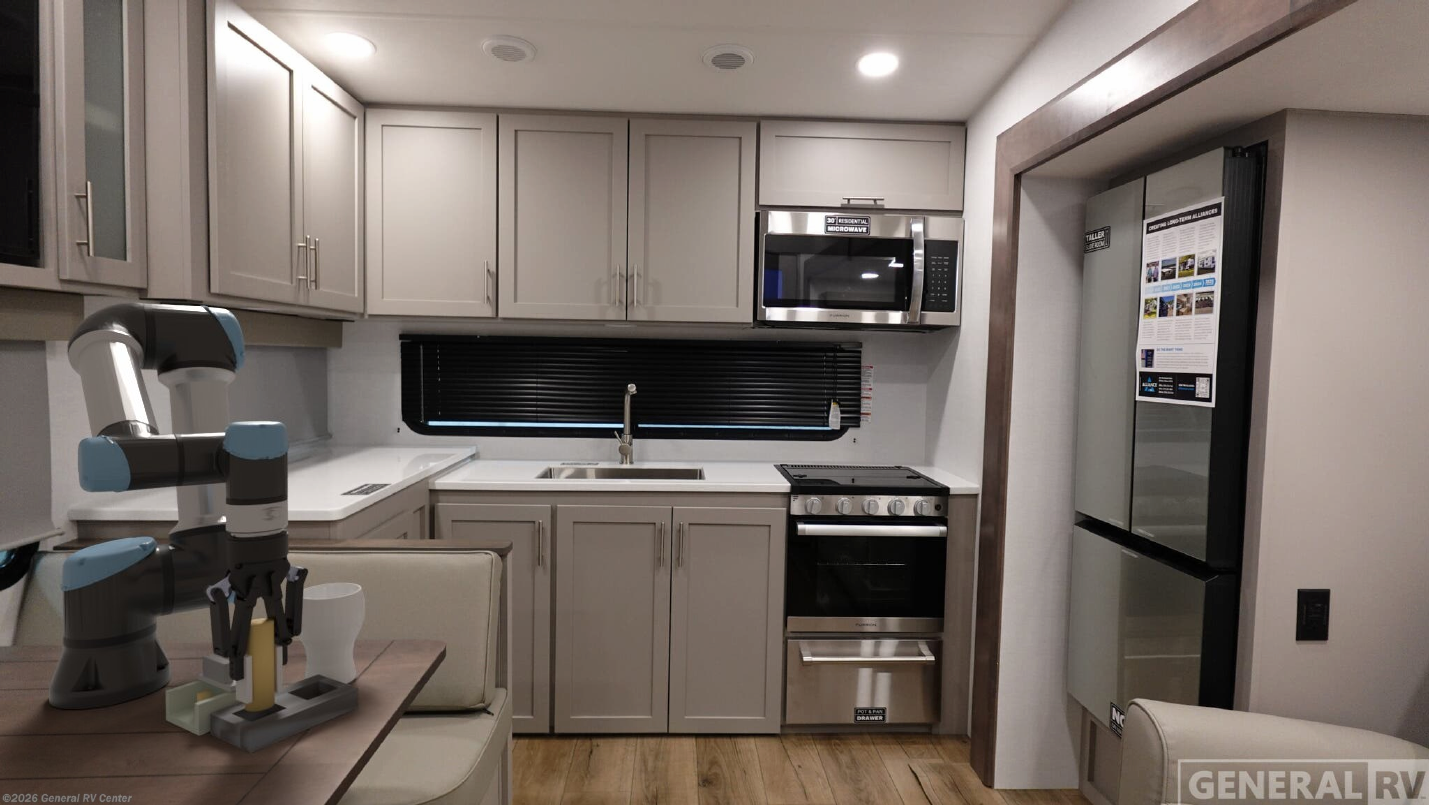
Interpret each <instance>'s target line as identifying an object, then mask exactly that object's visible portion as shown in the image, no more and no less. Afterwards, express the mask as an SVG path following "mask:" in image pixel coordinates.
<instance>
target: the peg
mask: <svg viewBox="0 0 1429 805" xmlns="http://www.w3.org/2000/svg"><path fill="white" fill-rule="evenodd" d="M246 654H248V655H251V656H252V702H250V703H248V704H246V703H245V710H246V711H251V712H254V711H261V710H265V709H268V708H270V707H272V706H273V705H274V704H275V680H274V620H273V619H271V618H267V617H264V618H262V617H261V618H255V619H252V620H251V626H250V632H249V638H248V644H247V650H246Z"/></svg>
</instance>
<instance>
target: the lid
mask: <svg viewBox="0 0 1429 805" xmlns="http://www.w3.org/2000/svg"><path fill="white" fill-rule="evenodd" d="M197 680H201V681H204V682H206V683H209V684H211V685H214V686H216V687H219V688H221V689H224V690H226V691H229V692H233V691H236V681H235V680H232V679H231V678H230V675H229V659H228V658H225V657H222V656H219V655H216V654H214V653H209V654H205V655H202V672H199V673H197Z"/></svg>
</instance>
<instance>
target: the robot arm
mask: <svg viewBox="0 0 1429 805" xmlns="http://www.w3.org/2000/svg"><path fill="white" fill-rule="evenodd" d="M245 350H246V348H245V340H244V336H243V332H242V328H241V326H240V323H239V321H238V319H237V317H236V316H235V315H234V314H233V312H231V311H230V310H227V309H225V308H219V307H208V306H206V305H200V306H194V305H175V304H164V303H162V304H161V303H142V302H131V301H130V302H122V303H121V302H120V303H116V304H113V305H112V304H111V305H108V306H106V307H103V308H101V309H98V310H96V311H95V312H93V313H91V314H90V315H88V316H87V317H85V318H84V319H83V320H81V322H79V324H77V325H76V326H75V328H74V329H73V331H72V333H71V334H70V335H69V338H68V343H67V356H68V362H69V365H70V367H71V368H72V369H73V371H75V373H77V374H78V375H79V376H80V381H81V386H82V390H83V391H82V392H83V396H84V403H85V406H86V407H85V408H86V412H87V417H88V423H89V427H90V428H89V429H90V434H91V437H86V438H83V439H81V440H80V441H79V443H78V446H77V472H78V483H79V485H80V486H79V487H80V488H81V489H82V490H83V491H84V492H87V493H106V492H107V493H108V492H109V493H110V492H114V493H123V492H130V491H140V490H141V491H142V490H143V491H144V490H151V489H152V490H153V489H163V488H172V487H176V488H175V489H176V502H177V514H178V516H177V518H178V522H177V524H176V525H175V526H174V527H173V528H172V529H171V530H170V531H169V532H168V543H163V544H158V543H157V541H156V539H155V538H154V537H151V536H137V537H126V538H121V539H120V538H119V539H114V540H110V541H106V542H105V541H104V542H102V543H99V544H98V543H97V544H94V545H90V546H88V547H85V548H83V549H82V548H81V549H79V550H77V551H75V552H74V553H72V554H70V555H69V556H68V557H66V559H65V560H64V561H63V564H62V574H61V583H60V586H59V587H60V589H59V590H60V591H62V646H63V647H62V652H61V655H60V657H59V660H58V662H57V665H56V668H55V670H54V673H53V676H52V678H51V681H50V683H49V686H48V702H49V704H50V705H51V706H53V707H54V708H57V709H63V710H82V709H83V710H84V709H85V710H86V709H94V708H101V707H106V706H108V707H109V706H112V705H116V704H122V703H124V702H129V701H132V700H136V699H138V698H141V697H144V696H146V695H149V694H151V693H154V692H156V691H158V690H160V689H161V688H162V687H165V686H166V685H167V684H168V683H169V682H170V680H171V678H172V676H171V675H172V674H171V673H172V672H171V670H172V669H171V663H170V660H169V658H168V656H167V654H166V651H165V649H164V647H163V644H162V642H161V640H160V638H159V636H158V633H157V632H158V631H157V630H158V629H157V625H158V624H157V619H158V618H160V617H163V616H168V615H169V616H170V615H174V614H181V613H182V614H183V613H186V612H192V611H198V610H203V609H209V615H210V616H209V617H210V618H209V619H210V630H211V640H212V652H213V655H216V656H219V657H222V658H224V659H228V660H229V675H230V678H231V679H232V680H235V681H236V700H238V701H241V702H243V703H246V704H248V703H250V702H252V656H251V655H248V654H246V650H247V644H248V638H249V632H250V626H251V620H253V613H254V608H255V607H256V606H257V601H258V599H260V598H261V599H262V600H263V605H264V608H265V613H266V618H271V619H273V620H274V680H275V692H277V693H278V692H281V691H283V687H284V685H283V682H284V679H283V676H284V675H283V674H284V673H283V672H284V670H283V666H286V665H287V664H288V662H289V660H288V658H289V657H288V656H289V655H288V647H289V645H291V644H292V642H293V638H294V637H298V636H299V635H300V634H301V630H302V609H303V590H304V589H305V586H304V585H305V582H306V579H307V576H308V574H309V568H306V567H301V566H297V565H294V566H293V565H291V562H290V561H289V559H288V555H289V552H290V548H289V547H290V546H289V545H290V544H289V543H290V542H289V532H288V531H287V529H286V528H287V527H288V525H289V501H288V500H289V498H288V497H289V488H288V486H289V485H288V483H289V479H288V478H289V466H288V465H289V453H288V452H289V449H290V444H289V441H288V430H287V426H286V425H285V423H283V422H280V421H272V420H257V421H255V420H252V421H250V420H248V421H234V422H230V408H229V397H228V388H227V387H228V386H229V385H230V384H231V383H232V382H233V381H234V380H235V379H236V378H237V377H236V372H238V371H240V370H242V369H243V368H244V365H245V360H246V354H245V353H246V352H245ZM142 370H151V371H156V372H157V374H156V375H157V376H156V377H157V381H158V382H159V383H160V384H161V385H163V386H164V387H166V388H167V389H168V390H169V403H170V404H169V405H170V418H171V431H172V433H170V434H169V433H168V434H167V433H166V434H160V431H159V427H158V424H157V421H156V417H155V414H154V410H153V407H152V404H151V400H150V397H149V393H148V390H147V387H146V383H145V380H144V377H143V373H142ZM285 579H286V583H285V595H284V594H283V591H282V590H283V589H282V583H283V582H284V580H285ZM284 596H285V597H284ZM283 598H285V599H284V600H285V601H284V604H283V600H282V599H283ZM231 604H233V605H234V610H233V614H232V620H231V619H230V618H231V617H230V606H229V605H231ZM231 621H232V622H231Z"/></svg>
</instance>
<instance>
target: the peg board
mask: <svg viewBox="0 0 1429 805" xmlns="http://www.w3.org/2000/svg"><path fill="white" fill-rule="evenodd" d="M358 708H359V688H358V687H356V686H353V685H351V684H349V683H347V684H345V683H342V682H339V681H336V680H333V679H331V678H328V677H325V676H322V675H319V674H318V675H315V676H312V677H310V678H307V679H301V680H299V681H295V682H294V683H290V684H288V685H285V686H283V691H281V692H278V693H277V692H275V704H274V705H273V706H272V707H270V708H268V709H265V710H261V711H254V712H251V711H246V710H245V703H243V702H241V703H238V704H235V705H232V706H230V707H227V708H224V709H221V710H219V711H216V712H213V713H210V735H211V736H213V737H215V738H217V739H219V740H222V741H224V742H226V743H229V744H231V745H233V746H235V747H236V748H238V749H241V750H243V751H245V752H247V753H250V754H252V753H254V752H257V751H259V750H262V749H264V748H266V747H268V746H271V745H273V744H276V743H277V742H280V741H283V740H285V739H287V738H289V737H292V736H294V735H296V734H299V733H301V732H303V731H306V730H308V729H309V730H310V729H311V728H313V727H316V726H318V725H320V724H322V723H324V722H327V721H330V720H332V719H335V718H337V717H340V716H341V715H344V714H347V713H348V712H351V711H354V710H356V709H358Z"/></svg>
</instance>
